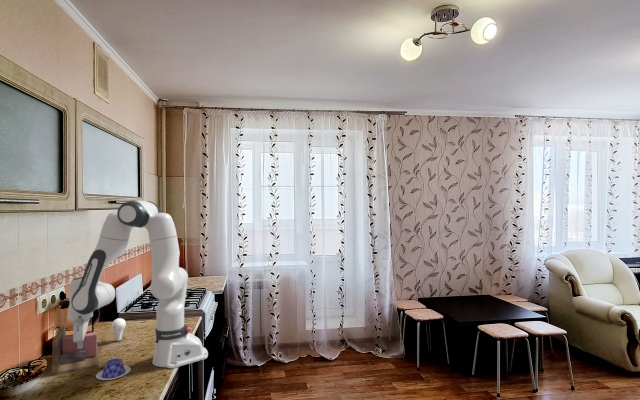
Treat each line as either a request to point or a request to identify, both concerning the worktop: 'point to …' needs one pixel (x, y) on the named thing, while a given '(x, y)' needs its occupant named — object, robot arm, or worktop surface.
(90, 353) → the book
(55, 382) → the worktop surface
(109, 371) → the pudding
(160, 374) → the worktop surface
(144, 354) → the worktop surface
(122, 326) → the lightbulb
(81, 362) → the shelf stand
